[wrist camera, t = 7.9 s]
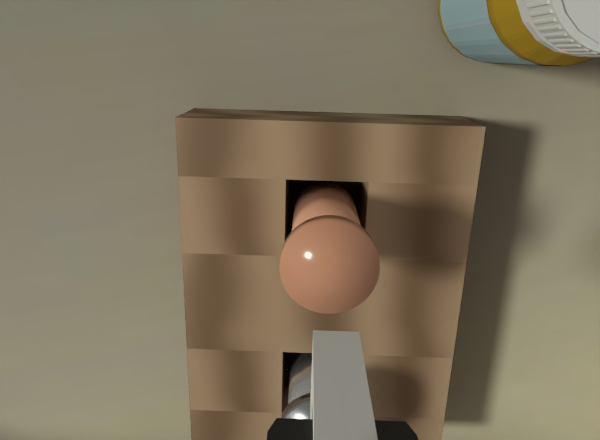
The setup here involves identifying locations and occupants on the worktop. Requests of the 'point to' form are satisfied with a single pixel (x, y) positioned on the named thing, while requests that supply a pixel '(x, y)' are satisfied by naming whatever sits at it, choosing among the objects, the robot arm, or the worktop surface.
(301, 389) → the grey plug
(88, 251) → the worktop surface
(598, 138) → the worktop surface
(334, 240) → the terracotta plug
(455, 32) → the bottle
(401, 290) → the block
